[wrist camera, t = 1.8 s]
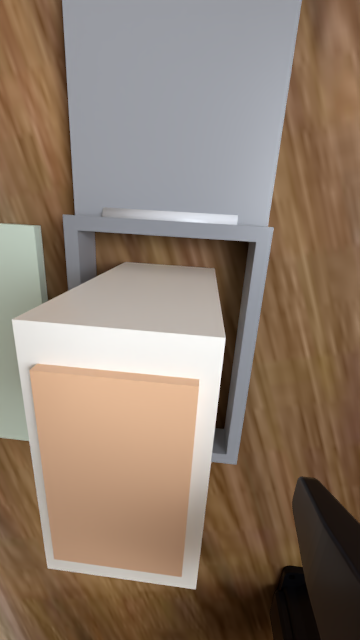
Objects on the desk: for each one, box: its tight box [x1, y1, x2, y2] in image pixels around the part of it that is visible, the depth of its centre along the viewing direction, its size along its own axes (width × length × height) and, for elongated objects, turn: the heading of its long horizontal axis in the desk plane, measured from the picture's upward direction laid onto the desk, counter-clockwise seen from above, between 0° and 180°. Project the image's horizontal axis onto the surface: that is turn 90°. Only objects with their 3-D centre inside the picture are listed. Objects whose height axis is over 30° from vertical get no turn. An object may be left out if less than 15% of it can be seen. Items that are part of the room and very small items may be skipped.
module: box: [12, 262, 226, 589], centre depth 11 cm, size 4×8×9 cm, turn 177°
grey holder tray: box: [62, 0, 302, 464], centre depth 13 cm, size 9×24×2 cm, turn 177°
